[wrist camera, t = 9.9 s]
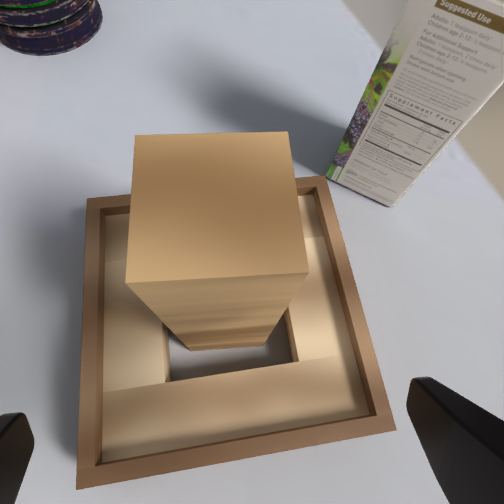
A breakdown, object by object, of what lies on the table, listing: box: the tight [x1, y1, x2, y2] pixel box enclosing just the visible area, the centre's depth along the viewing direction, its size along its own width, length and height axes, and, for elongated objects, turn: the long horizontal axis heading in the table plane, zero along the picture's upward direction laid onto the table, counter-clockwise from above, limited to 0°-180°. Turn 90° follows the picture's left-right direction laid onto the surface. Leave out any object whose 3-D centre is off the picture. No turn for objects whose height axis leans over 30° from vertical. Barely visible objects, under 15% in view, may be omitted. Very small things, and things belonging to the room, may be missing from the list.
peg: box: [125, 131, 309, 351], centre depth 16 cm, size 4×4×14 cm
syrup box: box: [326, 0, 504, 207], centre depth 21 cm, size 6×6×14 cm
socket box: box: [76, 175, 396, 490], centre depth 21 cm, size 16×16×3 cm
